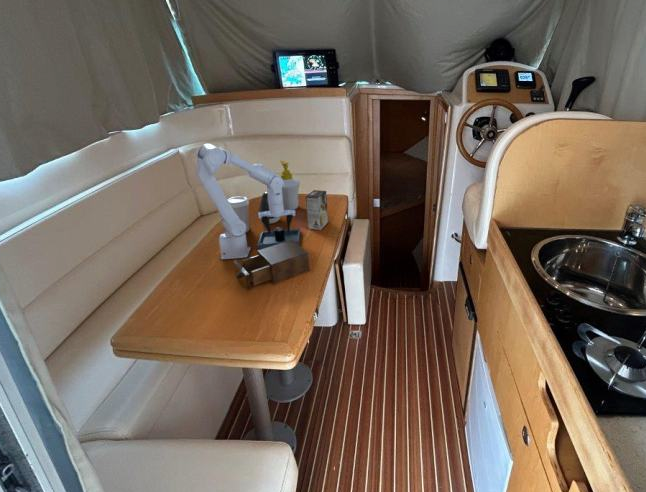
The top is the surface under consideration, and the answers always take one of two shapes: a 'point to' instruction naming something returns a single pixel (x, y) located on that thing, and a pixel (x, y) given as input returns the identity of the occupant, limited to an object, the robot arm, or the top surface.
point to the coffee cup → (241, 209)
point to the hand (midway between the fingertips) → (279, 232)
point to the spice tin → (279, 234)
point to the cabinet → (285, 260)
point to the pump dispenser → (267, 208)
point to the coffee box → (317, 209)
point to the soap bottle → (289, 189)
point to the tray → (269, 241)
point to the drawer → (253, 271)
